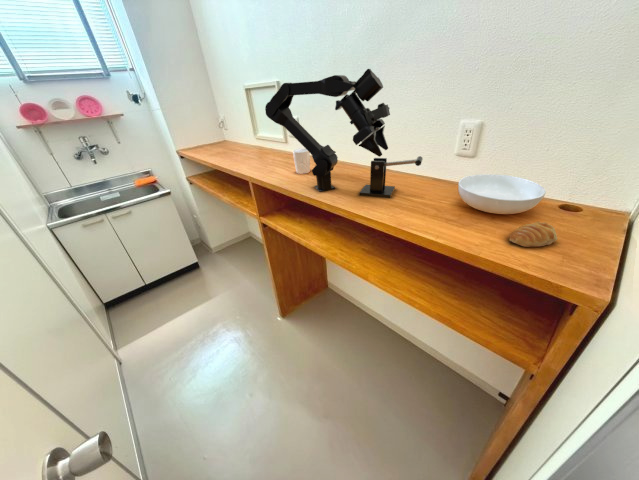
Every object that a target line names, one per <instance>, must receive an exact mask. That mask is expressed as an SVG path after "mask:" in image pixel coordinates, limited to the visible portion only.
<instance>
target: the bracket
mask: <svg viewBox="0 0 639 480" xmlns="http://www.w3.org/2000/svg"><path fill="white" fill-rule="evenodd" d="M382 160H383V161H382ZM387 160H388V158H387V157H374V158H373V160H370V174H369V175H370V176H369V177H370V178H369V184H367V183H366V184H364V186H363V187H362V188H361V190H359V193H358V195H359V197H369V198H370V197H371V198H383V199H391V198H392V196H393V194H394V193H395V192H394V191H395V190H396V186H394V185H386V179H387V166H384V163H386V162H388V161H387Z"/></svg>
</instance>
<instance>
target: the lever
mask: <svg viewBox="0 0 639 480" xmlns="http://www.w3.org/2000/svg"><path fill="white" fill-rule="evenodd" d="M423 159H424V157H423V156H421V155H420V156H417V158H416V159H407V160H397V161H387V162H386V163H384V166H386V167H391V166H393V167H394V166H402V165H411V164H415V166H417V167H419V166H421V165H422V162H423ZM382 161H383V160H382Z"/></svg>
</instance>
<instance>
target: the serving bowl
mask: <svg viewBox="0 0 639 480" xmlns="http://www.w3.org/2000/svg"><path fill="white" fill-rule="evenodd" d="M457 187H458V188H457V190H458V191H457V192H458V195H459V197H460V199H461V200H462V201H463V202H464V203H465V204H466V205H468V206H469V207H471V208H473V209H475V210H479V211H481V212H484V213H489V214H496V215H514V214H515V215H516V214H520V213H524V212H527V211H529V210H532V209H533V208H534V207H536V206H537V205H538V204H539V203H541V202H542V200H543V199H544V197H545V195H546V194H547V193H546V192H547V191H546V188H545V187H543V186H542V185H541V184H540V183H537V182H535V181H532V180H530V179H526V178H523V177H519V176H515V175H514V176H513V175H507V174H497V173H495V174H494V173H479V174H471V175H467V176H464V177H462V178H460V179H459V180H458V184H457Z"/></svg>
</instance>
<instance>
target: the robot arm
mask: <svg viewBox="0 0 639 480" xmlns="http://www.w3.org/2000/svg"><path fill="white" fill-rule="evenodd" d="M383 88H384V85H383V82H382V81H381V80H380V78H379V77H378V76H377V75H376V73H374V72H373V70H372V69H371V68H367V69H366V70H365V71H364V72H363V74H362V75H361V76H360V77H359V78H358V79H357V80H356V81H352V80H350V79H349V78H348V77H347V76H346V75H344V74H343V75H342V74H336V75H335V74H333V75H330V76H328V77H324V78H322V79H320V80H315V81H303V82H301V81H300V82H283V83H282V84H281V86H280V87H279V88H278V90H277V91H276V93H275V94H273V95H272V96H271V98H270V100H269V101H268V102H267V103H266V104H265V106H264V108H265V109H264V110H265V116H266V117H267V118H268V119H270V120H271V121H272V122H274V124H277V125H280V126H281V127H283V128H285V129H286V130H287V132H288V133H290V135H292V137H293V138H295V140H296V141H297V142H298V143H300V144H301V146H303V147H304V149H307V150H308V151H309V152H310V156H311V157H312V160H313V162H314V164H315V166H314V167H312V169H311V173H312V175H313V176H314V177H316V185H314V186H313V188H315V190H316V191H318V192H320V193H321V192H326V191H330V190H335V189H336V187H335V186H334V185H333V184H332V171H333V170H334V168H335V166H336V165H337V164H338V158H339V157H338V155H337V154H336V153H337V151H335V150H334V149H333V148H332V147H331V146H330V145H329V144H326V145H324V146H323V145H322V144H320V143H319V142H318V141H317V140H316V139H315V138H314V137H313V135H311V133H309V132H308V130H306V129H305V128H304V126H302V125H301V123H300V122H298V120H296V118H295V117H294V116H293V113H292V110H291V108H290V106H291V104H292V102H293V100H294V99H293V98H294V97H295V96H303V95H305V96H307V95H323V96H326V97H332V98H337V97H342V98H341V99H340V100H339V99H337V100H336V101H335V106H334V110H335V111H338V110H341V109H342V110H343V111H344V113H345V114H346V115H347V116H348V119H349V120H350V121H349V124H350V125H353V126H354V127H355V129H356V130H357V132H355V134H354V135H353V136H352V141H353V143H354V144H355V146H358V147H361V148H363V149H364V150H366V151H368V152H371V153H372V154H374V155H375V156H377V157H378V158H381V156H383V152H382V150H381V148H382V149H383V150H384V151H387V150H389V146H388V143H387V140H386V137H385V134H384V131H385V127H386V125H385V124H386V123H385V121H384V118H387V117H389V116H391V112H390V106H389V105H388V104H385V102H381V103H379V104H377V108H375V109H372V110H371V109H370V108H369V107H366V106H365V104H364V103H363V102H365V101H366V102H370V101H371V100H372V99H373V98H374V97H375V96H376V95H377V94H378V93H379V92H380V91H381V90H383ZM351 91H352V92H351ZM348 92H351V93H350V94H348Z"/></svg>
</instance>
